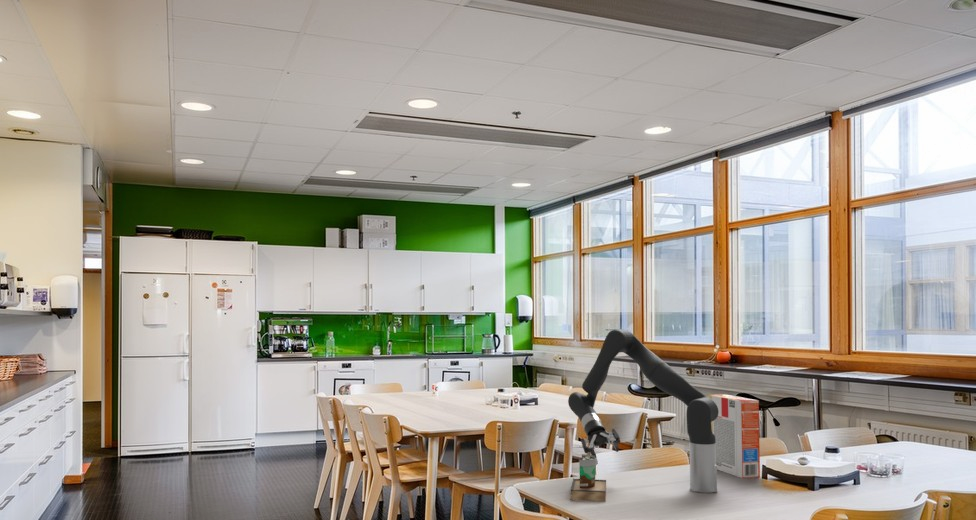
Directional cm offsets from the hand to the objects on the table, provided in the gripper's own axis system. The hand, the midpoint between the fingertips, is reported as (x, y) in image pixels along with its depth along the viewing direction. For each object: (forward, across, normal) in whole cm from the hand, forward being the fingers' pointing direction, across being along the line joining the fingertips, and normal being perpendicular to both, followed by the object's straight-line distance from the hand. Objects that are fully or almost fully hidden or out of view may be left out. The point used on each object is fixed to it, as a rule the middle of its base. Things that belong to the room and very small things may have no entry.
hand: (606, 453), depth 289 cm
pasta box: (-8, +52, +38) cm, 65 cm away
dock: (+14, -12, +3) cm, 19 cm away
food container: (+13, -11, 0) cm, 17 cm away
